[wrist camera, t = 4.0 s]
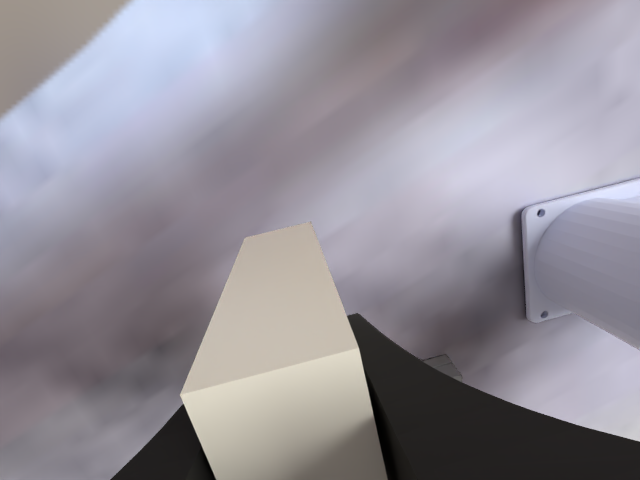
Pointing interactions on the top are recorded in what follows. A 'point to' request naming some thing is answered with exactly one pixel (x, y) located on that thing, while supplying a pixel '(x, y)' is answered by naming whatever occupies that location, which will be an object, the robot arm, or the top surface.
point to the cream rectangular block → (282, 371)
